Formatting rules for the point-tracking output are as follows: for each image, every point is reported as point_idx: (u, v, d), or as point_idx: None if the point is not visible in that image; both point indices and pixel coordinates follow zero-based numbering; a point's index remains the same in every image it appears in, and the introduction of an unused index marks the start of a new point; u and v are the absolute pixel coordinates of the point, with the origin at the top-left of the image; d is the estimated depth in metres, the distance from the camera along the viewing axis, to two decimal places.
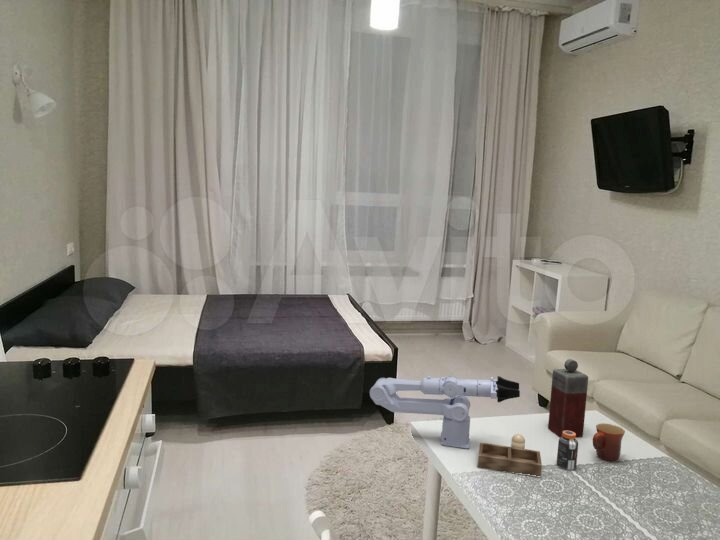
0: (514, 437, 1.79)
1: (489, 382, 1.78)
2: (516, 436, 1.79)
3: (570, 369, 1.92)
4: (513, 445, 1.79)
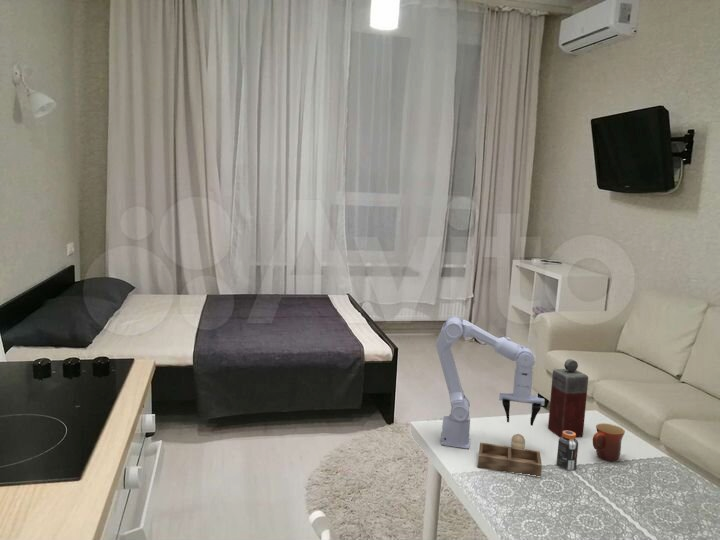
0: (514, 437, 1.79)
1: None
2: (516, 436, 1.79)
3: (570, 369, 1.92)
4: (513, 445, 1.79)
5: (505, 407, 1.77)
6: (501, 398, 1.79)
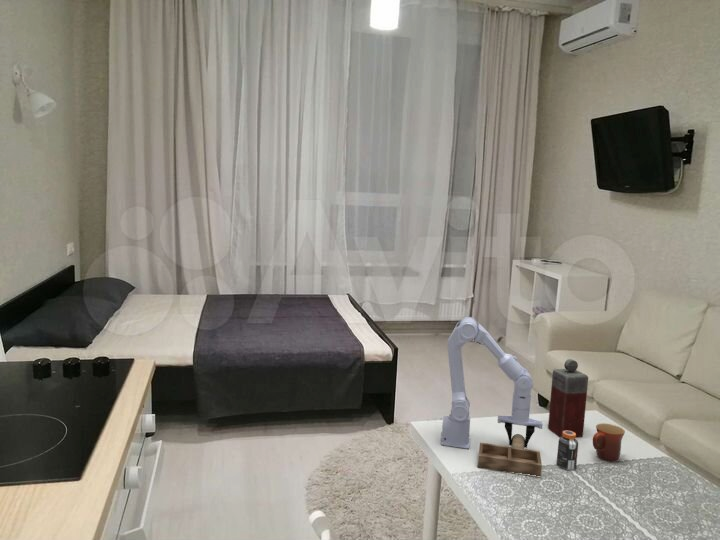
0: (514, 437, 1.79)
1: None
2: (516, 436, 1.79)
3: (570, 369, 1.92)
4: (513, 445, 1.79)
5: (507, 430, 1.78)
6: (499, 421, 1.80)
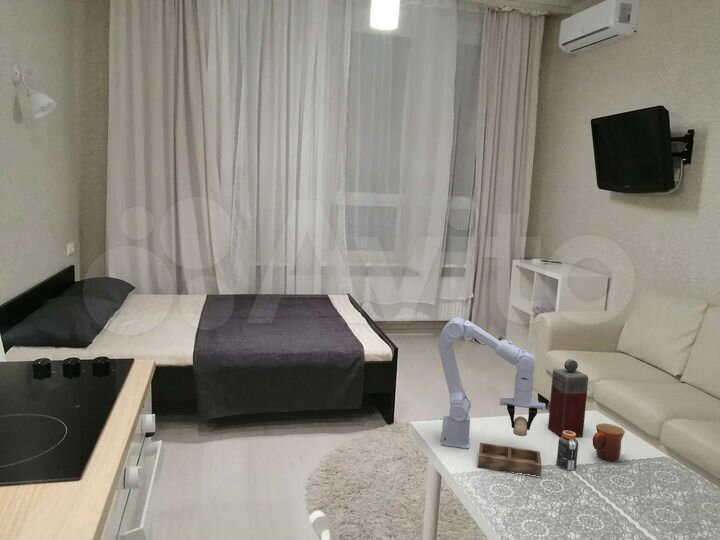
0: (516, 419, 1.76)
1: None
2: (518, 418, 1.76)
3: (570, 369, 1.92)
4: (515, 427, 1.76)
5: (510, 413, 1.75)
6: (502, 403, 1.77)
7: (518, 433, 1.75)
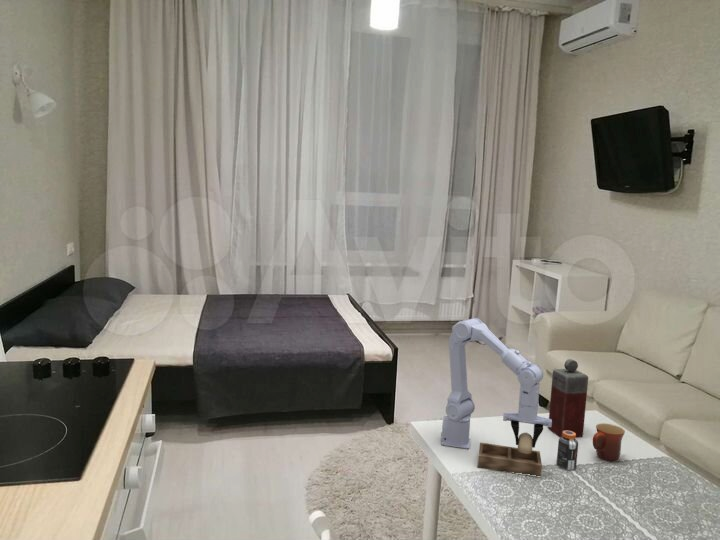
0: (521, 436, 1.66)
1: None
2: (523, 435, 1.66)
3: (570, 369, 1.92)
4: (520, 445, 1.66)
5: (514, 429, 1.65)
6: (505, 418, 1.67)
7: (523, 451, 1.65)
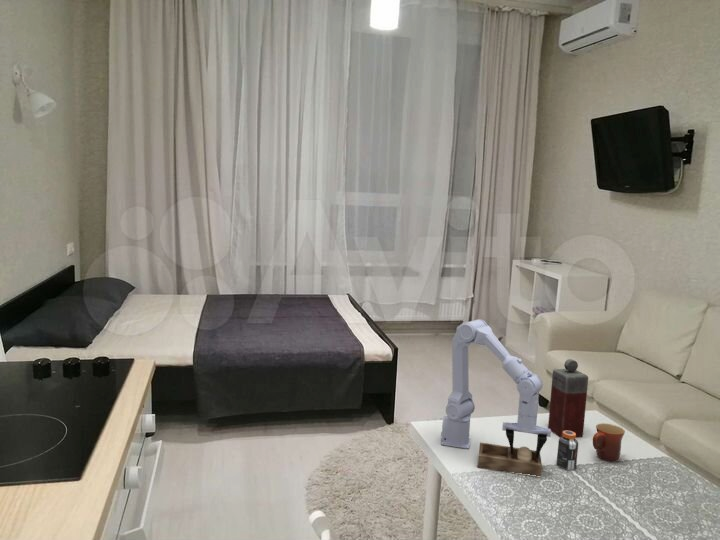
0: (520, 450, 1.67)
1: None
2: (522, 449, 1.67)
3: (570, 369, 1.92)
4: (519, 459, 1.67)
5: (509, 438, 1.66)
6: (504, 428, 1.67)
7: None
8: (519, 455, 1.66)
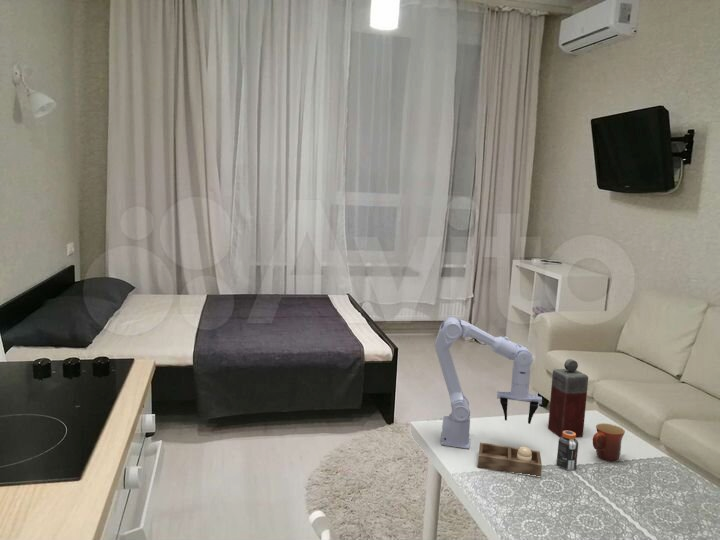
0: (520, 450, 1.67)
1: None
2: (522, 449, 1.67)
3: (570, 369, 1.92)
4: (519, 458, 1.67)
5: (503, 405, 1.79)
6: (499, 396, 1.80)
7: None
8: (519, 455, 1.66)
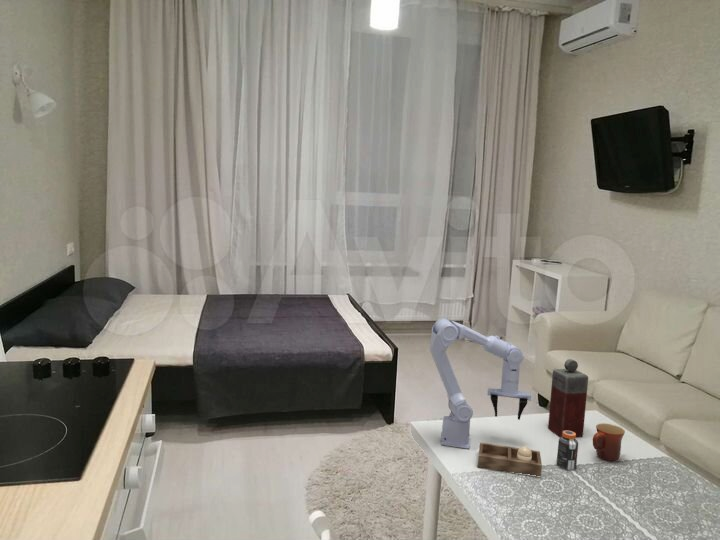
0: (520, 450, 1.67)
1: None
2: (522, 449, 1.67)
3: (570, 369, 1.92)
4: (519, 458, 1.67)
5: (493, 402, 1.83)
6: (489, 393, 1.84)
7: None
8: (519, 455, 1.67)
